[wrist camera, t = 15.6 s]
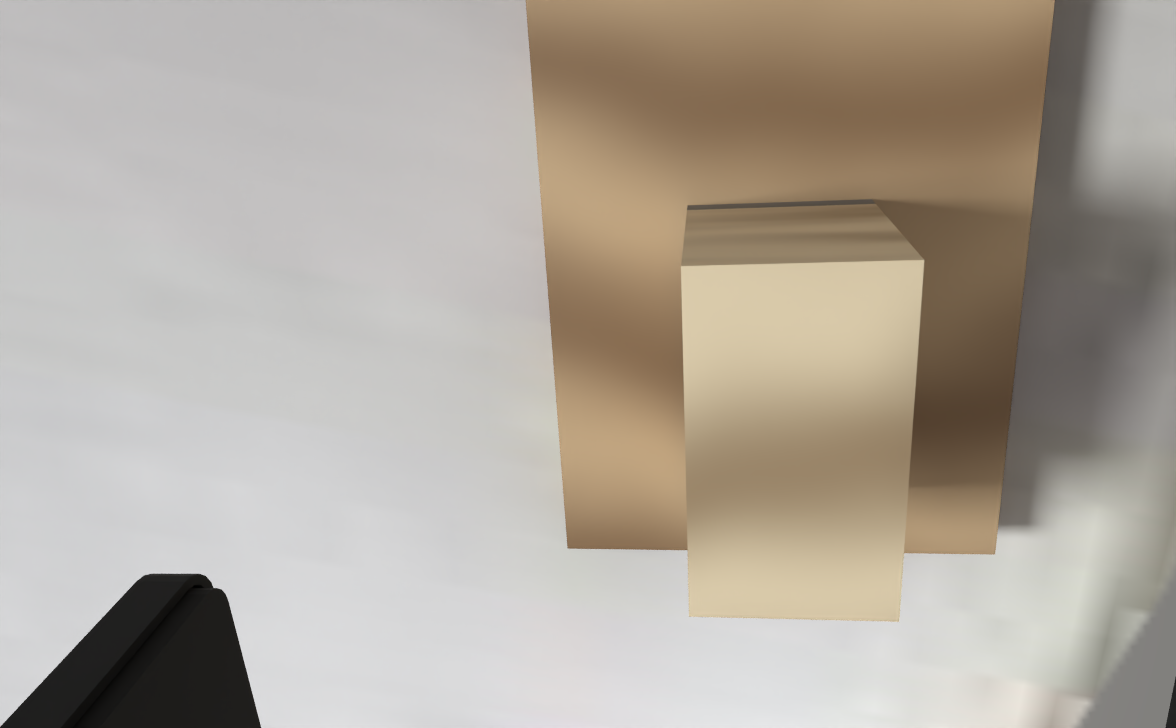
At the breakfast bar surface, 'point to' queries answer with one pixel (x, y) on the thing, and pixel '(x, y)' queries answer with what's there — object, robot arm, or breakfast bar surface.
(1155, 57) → the breakfast bar surface
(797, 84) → the plank
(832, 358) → the block
